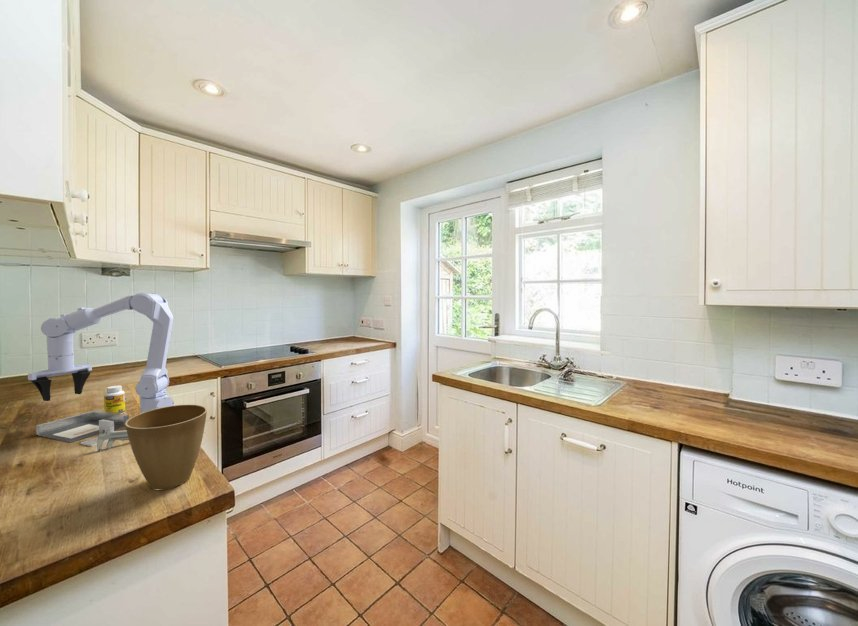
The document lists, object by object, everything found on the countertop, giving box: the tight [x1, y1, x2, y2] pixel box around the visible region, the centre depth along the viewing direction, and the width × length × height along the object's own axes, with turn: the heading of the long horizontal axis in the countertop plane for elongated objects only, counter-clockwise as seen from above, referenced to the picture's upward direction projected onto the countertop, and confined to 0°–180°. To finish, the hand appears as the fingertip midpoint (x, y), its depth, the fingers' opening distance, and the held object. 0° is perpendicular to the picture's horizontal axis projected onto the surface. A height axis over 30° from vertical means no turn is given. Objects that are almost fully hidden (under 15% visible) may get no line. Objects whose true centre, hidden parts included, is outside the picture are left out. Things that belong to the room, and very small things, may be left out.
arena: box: [35, 409, 130, 444], centre depth 109 cm, size 16×15×3 cm
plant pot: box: [124, 404, 208, 490], centre depth 78 cm, size 15×15×16 cm
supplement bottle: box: [103, 385, 126, 414], centre depth 123 cm, size 6×6×10 cm
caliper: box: [96, 428, 129, 452], centre depth 102 cm, size 20×1×6 cm, turn 142°
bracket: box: [80, 419, 115, 448], centre depth 100 cm, size 6×5×6 cm
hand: (63, 397), depth 109 cm, fingers open, 7 cm apart
